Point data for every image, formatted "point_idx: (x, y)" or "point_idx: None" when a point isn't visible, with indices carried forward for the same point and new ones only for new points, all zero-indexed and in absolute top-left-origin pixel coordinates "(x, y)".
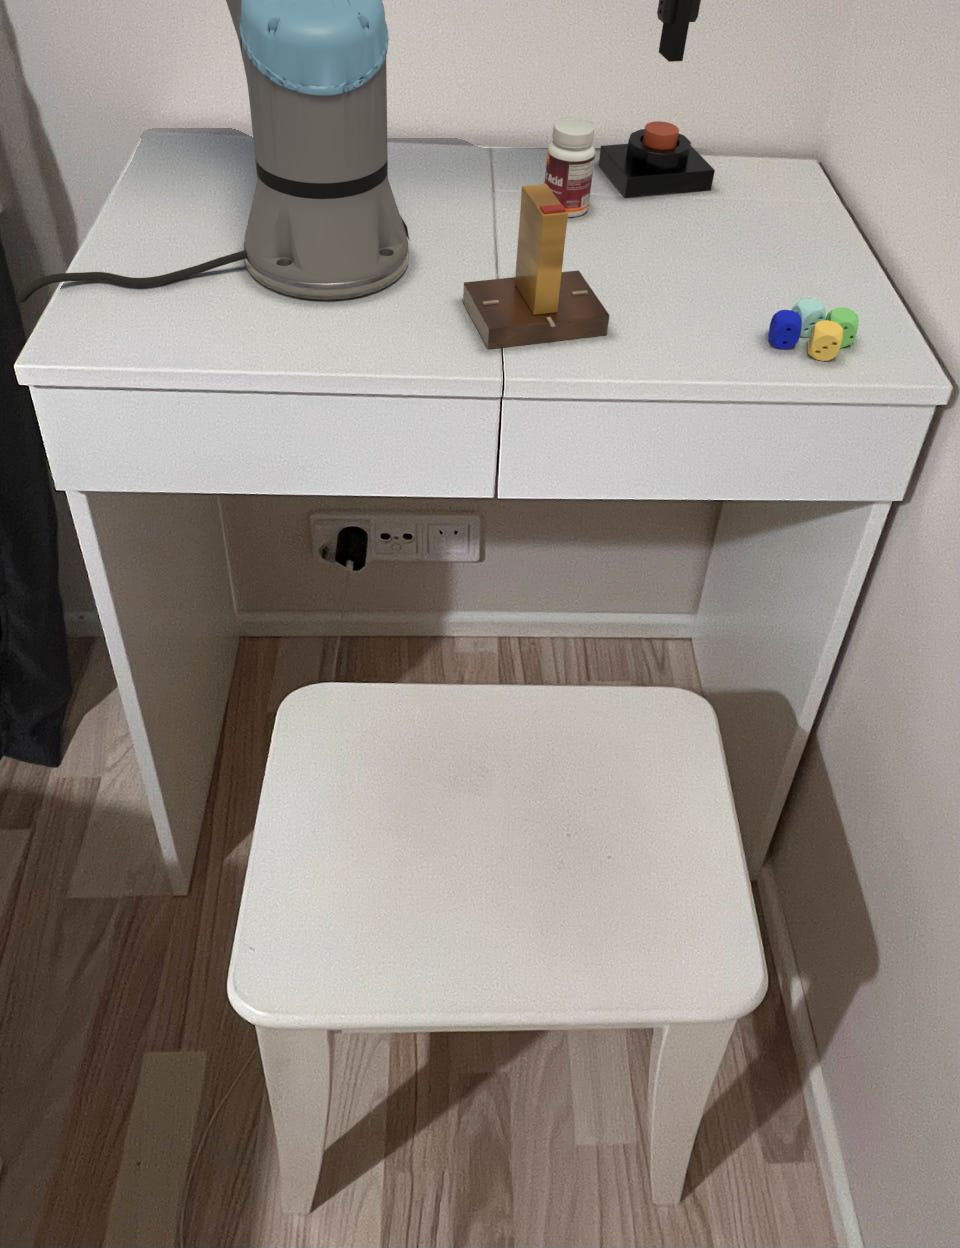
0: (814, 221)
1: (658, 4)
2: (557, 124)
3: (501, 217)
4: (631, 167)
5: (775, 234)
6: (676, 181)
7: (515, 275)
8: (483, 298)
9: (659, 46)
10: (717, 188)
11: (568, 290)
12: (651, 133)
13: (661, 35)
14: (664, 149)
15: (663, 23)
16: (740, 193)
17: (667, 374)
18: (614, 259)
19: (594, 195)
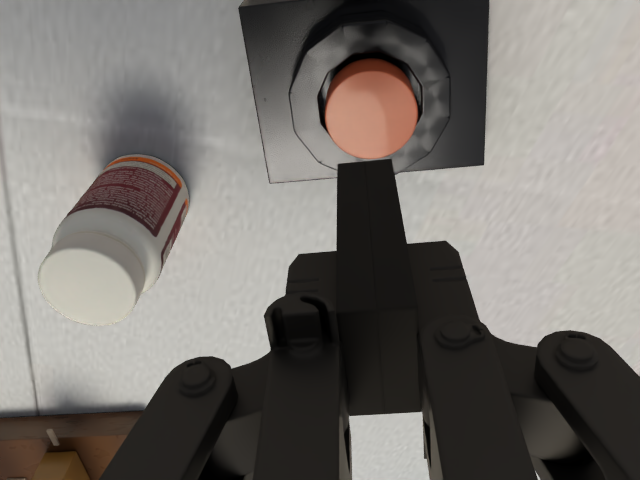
0: (616, 278)
1: (286, 288)
2: (45, 280)
3: (22, 215)
4: (289, 138)
5: (513, 311)
6: None
7: (39, 463)
8: (7, 471)
9: (338, 171)
10: (495, 137)
11: None
12: (333, 141)
13: (337, 191)
14: None
15: (337, 213)
16: (534, 163)
17: None
18: (212, 350)
19: (212, 146)
